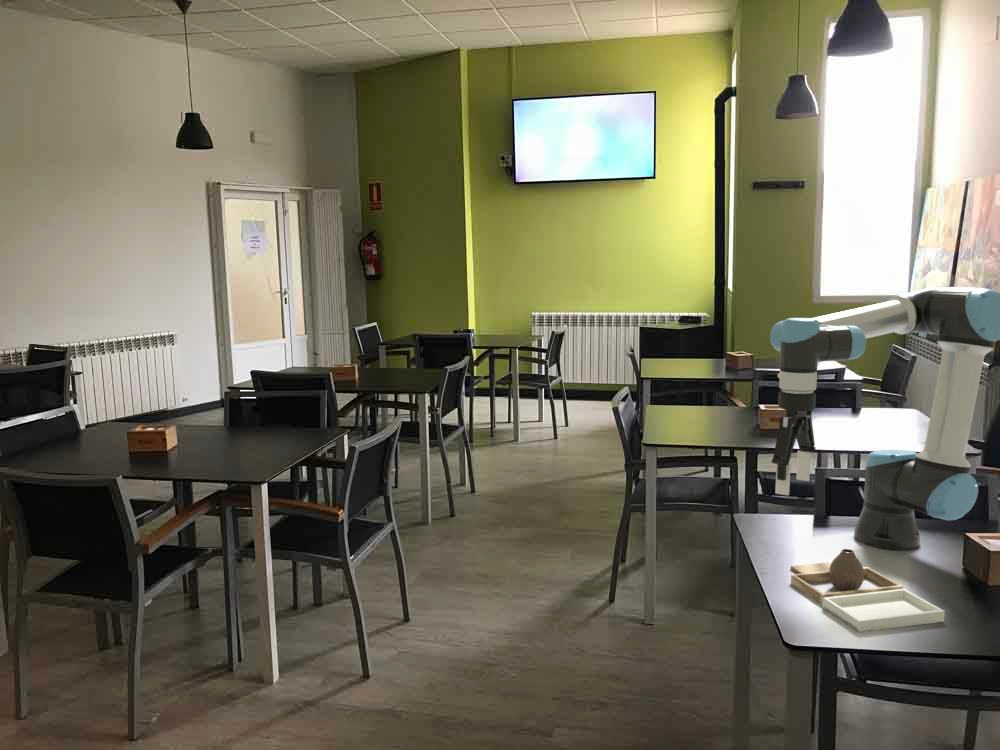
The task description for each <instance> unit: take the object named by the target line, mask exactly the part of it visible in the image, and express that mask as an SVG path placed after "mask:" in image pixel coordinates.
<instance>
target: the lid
mask: <svg viewBox="0 0 1000 750" xmlns="http://www.w3.org/2000/svg"><path fill="white" fill-rule="evenodd" d="M831 563H832V561H829V562H820V563H809V564H808V563H807V564H800V565H799V564H798V565H791V566H790V570H791V571H792V572H794V573H795V574H803V573H813V572H823V571H829V570H830V566H831Z"/></svg>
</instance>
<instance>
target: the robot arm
mask: <svg viewBox="0 0 1000 750" xmlns="http://www.w3.org/2000/svg"><path fill="white" fill-rule="evenodd" d="M891 333H895V334H898V335H906V334H910V333H917V334H919V333H920V334H930V335H938V336H937V341H936V343H937V344H938V345H939V346H940V348H941V349H942V353H941V359H940V365H939V368H938V369H939V370H938V374H937V375H938V376H937V380H936V384H935V391H934V396H933V401H932V406H931V412H930V418H929V422H928V427H927V432H926V433H927V434H926V438H925V442H924V443H925V445H924V448H923V450H922V451H920V452H916V451H913V450H907V449H906V450H903V449H884V450H880V449H879V450H874V451H872V452H870V453H868V455H866V456H867V457H866V463H865V467H864V486H863V487H864V492H863V493H864V494H863V505H862V506H863V507H862V510H861V513H860V514H859V517H858V520H857V523H856V524H855V526H854V533H853V536H854V538H855V539H856V540H857V541H858V542H860V543H862V544H865V545H868V546H872V547H875V548H879V549H880V548H881V549H886V550H897V551H898V550H904V551H905V550H913V549H915V548H918V547H920V545H921V544H920V542H921V535H920V534H921V533H920V532H919V528H918V524H917V521H916V516H915V511H917V512H920V513H922V514H925V515H928V516H930V517H932V518H936V519H940V520H944V521H955V520H959V519H961V518H963V517H964V516H965V515H966V514H968V513H969V512H970V510H971V509H972V508H973V507H974V505H975V503H976V501H977V498H978V494H979V486H978V484H977V481H976V479H975V478H974V476H972V475H971V474H970V472H971V468H972V465H971V463H970V462H969V461H968V460H967V458H966V453H967V448H968V444H969V438H970V432H971V428H972V422H973V418H974V417H973V416H974V411H975V406H976V402H977V396H978V393H979V391H978V390H979V385H980V382H981V375H982V370H983V366H984V365H983V364H984V360H985V356H986V355H987V354H988V353H990V352H992V351H993V350H994V349H995V343H996V342H997V341H1000V292H999V291H998V290H996V289H991V288H984V287H976V286H975V287H967V286H966V287H964V286H963V287H959V286H958V287H956V286H932V287H927V288H922V289H917V290H914V291H909V292H905V293H902V294H897V295H893V296H891V297H890V298H889V299H888V300H887V301H885V302H880V303H875V304H869V305H866V306H862V307H857V308H853V309H848V310H844V311H840V312H839V311H838V312H834V313H830V314H825V315H820V316H816V317H815V316H814V317H790V318H789V317H788V318H785V320H780V321H778V322H776V323H775V324H774V325H773V326H772V328H771V330H770V333H769V340H770V344H771V346H772V347H773V348H774V349H775V350H776V351H777V352H779V353H780V355H779V357H780V358H779V373H777V378H778V379H779V382H778V383H779V384H778V387H779V389H781V390H779V392H778V397H777V399H778V400H777V402H778V403H777V406H778V408H780V409H781V410H785V411H786V413H785V416H780V417H779V426H778V432H777V436H776V442H775V446H774V452H773V456H772V459H771V463H772V464H775V466H776V467H775V468H776V469H775V492H774V493H775V494H776V495H783V496H790V485H791V482H790V481H791V464H790V460H791V458H792V453H793V450H794V446H795V443H796V441H797V445H798V449H799V450H797V455H796V456H797V457H796V460H797V461H796V476H795V477H796V478H795V479H796V480H798V481H805V482H810V476H811V456H812V453H814V452H816V446H815V436H814V435H815V434H814V429H813V419H812V417H813V415H812V413H813V410H815V409H816V399H817V397H816V396H817V393H816V392H815V391H816V390H817V384H818V383H817V382H818V381H817V380H818V364H819V363H821V362H837V361H838V362H839V361H840V362H841V361H844V362H847V361H852V360H856V359H858V358H861V356H862V355H863V354H864V353H865V351H866V347H867V346H866V345H867V339H869V338H874V337H879V336H884V335H887V334H891Z"/></svg>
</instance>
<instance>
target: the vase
mask: <svg viewBox="0 0 1000 750" xmlns="http://www.w3.org/2000/svg"><path fill="white" fill-rule="evenodd" d="M831 562H832V563H831V566H830V570H829V576H830V581H829V582H830V583H831V585H832V586H833V587H834V588H835V589H836V590H837V592H841V591H850V590H860V589H861V587H862V585H863V583H864V579H865V577H864V570H863V567H864V566H863V565H862V563H861V561H860V559H859V558H858V557H857V555H856V553H855V551H854V550H852V549H850V548H843V549H841V550H840V553H839V554H838V555H837V556H836V557H835V558H833V560H832V561H831Z"/></svg>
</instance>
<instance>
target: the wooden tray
mask: <svg viewBox="0 0 1000 750" xmlns="http://www.w3.org/2000/svg"><path fill="white" fill-rule="evenodd" d="M862 567H863V570H864V578H868V579H870V580H871V581H873V582H874V583H876V584H879V587H869V588H862V589H861V588H859V589H858V590H850V591H835V592H833V591H832V592H826V593H825V592H824V593H823V591H820V590H819V589H818V588H816V587H815V586H813V585H811V584H812V583H820V582H821V583H822V582H831V581H830V576H829V571H823V572H813V573H803V574H797V573H795V574H791V575H790V584H791V585H792V586H794V587H796V588H797V589H799V590H800V591H802V592H803V593H805V594H806V595H808V596H809V597H811V598H812V599H813V600H815V601H816V602H819V604H821V605H823V598H825V597H834V596H843V595H852V594H861V593H870V592H879V591H888V590H897V589H904V585H903V586H902V585H901V584H899V583H897V582H896V581H894V580H892V579H890V578H888V577H886V576H885V575H883V574H881V573H880V572H877V571H875V570H874V569H872V568H870V567H868V566H862Z"/></svg>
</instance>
